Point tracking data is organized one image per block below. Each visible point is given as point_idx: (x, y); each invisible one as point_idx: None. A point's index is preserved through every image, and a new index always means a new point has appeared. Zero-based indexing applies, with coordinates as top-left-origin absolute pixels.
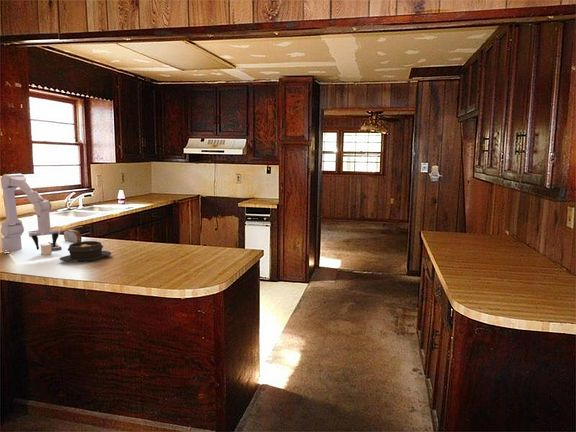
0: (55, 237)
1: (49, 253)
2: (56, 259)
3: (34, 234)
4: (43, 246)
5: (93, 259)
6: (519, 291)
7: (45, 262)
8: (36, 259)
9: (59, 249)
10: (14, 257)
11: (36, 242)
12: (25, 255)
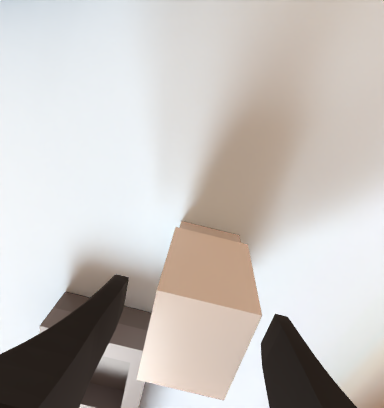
0: (26, 372)
1: (193, 235)
2: (202, 62)
3: None
4: (249, 303)
5: None
6: None
7: (348, 13)
8: (312, 222)
9: (68, 313)
10: (354, 387)
11: (340, 399)
12: None
